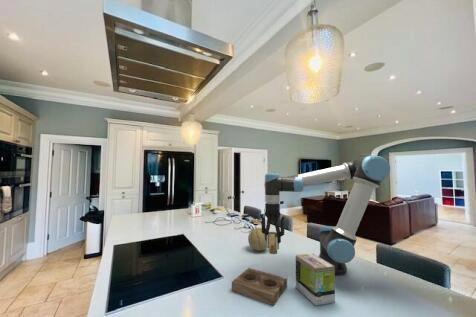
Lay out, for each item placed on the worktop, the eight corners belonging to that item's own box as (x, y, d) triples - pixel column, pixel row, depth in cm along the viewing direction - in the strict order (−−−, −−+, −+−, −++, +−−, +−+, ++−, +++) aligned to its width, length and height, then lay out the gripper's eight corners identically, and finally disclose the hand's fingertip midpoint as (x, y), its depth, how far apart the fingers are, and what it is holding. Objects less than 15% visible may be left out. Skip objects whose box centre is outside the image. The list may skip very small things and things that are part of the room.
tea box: (336, 302, 88) (335, 265, 89) (315, 306, 86) (314, 268, 86) (313, 283, 103) (313, 252, 104) (294, 287, 100) (294, 254, 101)
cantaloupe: (267, 255, 136) (267, 231, 137) (245, 252, 141) (245, 229, 142) (271, 248, 150) (271, 226, 151) (251, 245, 155) (251, 224, 156)
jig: (248, 275, 110) (248, 267, 110) (286, 287, 99) (286, 278, 100) (231, 290, 96) (231, 281, 96) (273, 305, 86) (273, 295, 86)
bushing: (270, 250, 114) (270, 231, 115) (278, 252, 112) (278, 232, 113) (267, 253, 110) (267, 233, 111) (275, 254, 108) (275, 234, 109)
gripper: (254, 202, 114) (254, 247, 113) (286, 205, 105) (286, 254, 104) (260, 200, 120) (260, 243, 119) (290, 203, 111) (291, 249, 110)
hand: (273, 248), depth 111 cm, fingers closed on bushing, 4 cm apart
